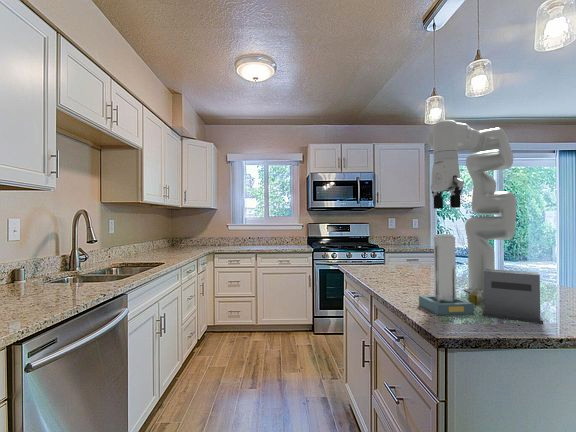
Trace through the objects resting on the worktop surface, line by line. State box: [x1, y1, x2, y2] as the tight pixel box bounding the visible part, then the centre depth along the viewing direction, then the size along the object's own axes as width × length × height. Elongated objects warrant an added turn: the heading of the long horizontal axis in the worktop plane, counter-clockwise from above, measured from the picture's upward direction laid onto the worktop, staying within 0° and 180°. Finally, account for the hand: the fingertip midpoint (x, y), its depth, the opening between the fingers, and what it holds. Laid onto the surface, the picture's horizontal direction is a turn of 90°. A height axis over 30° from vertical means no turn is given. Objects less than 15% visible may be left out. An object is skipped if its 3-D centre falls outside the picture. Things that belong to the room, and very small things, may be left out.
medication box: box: [468, 289, 484, 306], centre depth 117 cm, size 12×3×4 cm, turn 140°
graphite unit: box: [481, 269, 544, 325], centre depth 99 cm, size 8×15×14 cm, turn 58°
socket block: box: [418, 294, 475, 317], centre depth 106 cm, size 12×12×4 cm
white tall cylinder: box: [433, 233, 457, 303], centre depth 107 cm, size 6×6×25 cm
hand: (446, 208), depth 108 cm, fingers open, 9 cm apart
